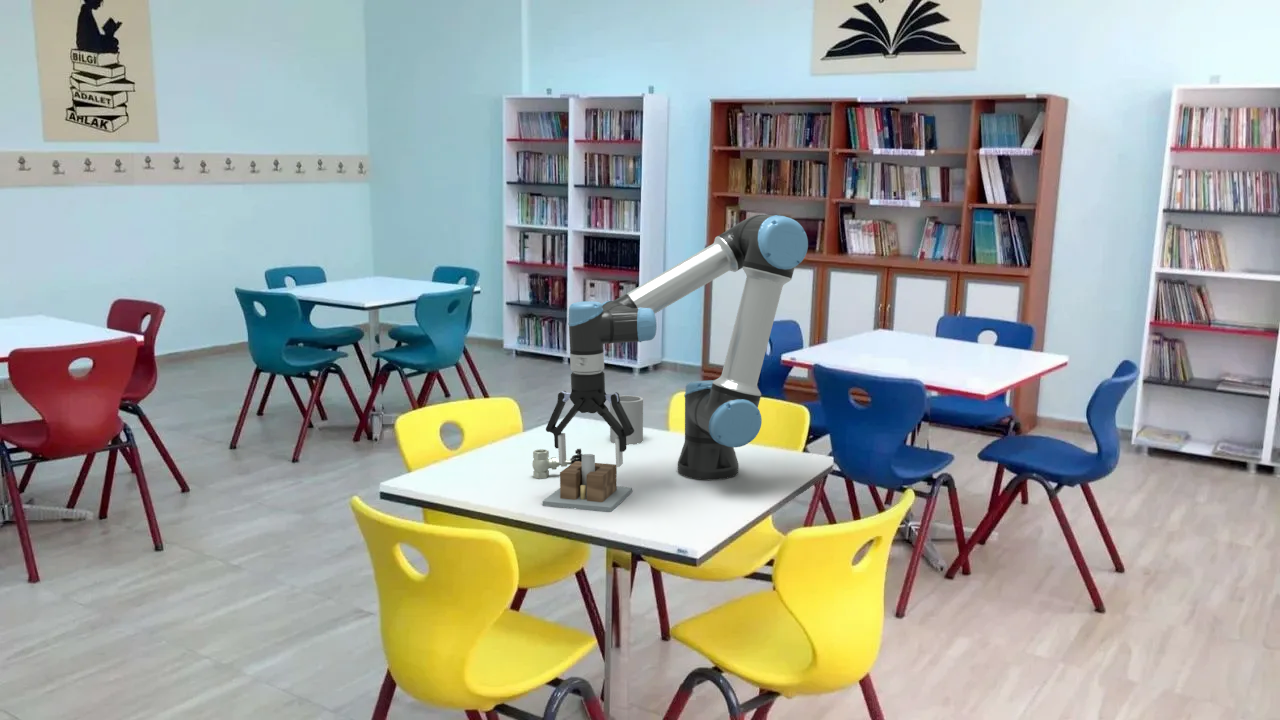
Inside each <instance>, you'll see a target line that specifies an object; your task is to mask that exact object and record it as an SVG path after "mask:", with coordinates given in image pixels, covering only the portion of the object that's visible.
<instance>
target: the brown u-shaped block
mask: <svg viewBox="0 0 1280 720" xmlns="http://www.w3.org/2000/svg"><path fill="white" fill-rule="evenodd" d="M617 468H618V467H616V463H615V464H612V463H603V462H601V463H600V462H595V472H589V473H588V474H587V501H594V502H604V501H605V500H606V499H607V498H608V497H609V496H610V495H611V494H613V493H614V492H615V491H616V490H617V486H618V485H617V483H618V482H617V475H618V474H617V472H618V471H617ZM580 485H582V462H578V461H575V462H574V463H572V464H571V465H569V466H568V465H567V466H566V467H565V468H564V469H563V470H561V471H560V472H559V488H560V498H561V499H572V500H576V499H577V498H579V497H580Z"/></svg>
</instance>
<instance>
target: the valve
mask: <svg viewBox="0 0 1280 720" xmlns="http://www.w3.org/2000/svg"><path fill="white" fill-rule="evenodd" d="M574 452H575V453H574V455H572V457H571V458H570V459H569V460H567V458H566V461H565V462H564V463H563V464H559V458H556V457H551V458H549V457H550V454H549V453H550V451H549V450H548V449H543V448H542V449H541V448H540V449H534V451H532V459H533V460H532V463H531V464H532V469H533V478H534V479H538V480H540V479H548V478H549V477H550V469H551V470H552V471H553V470H557V468H559V467H562V468H563V467H565V468H566V467H568V465H569V466H570V465H571V464H572V463H574V462H575V461H578V462H582V455H584V454H583V453H582V448H576V450H575V451H574Z"/></svg>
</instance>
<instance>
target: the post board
mask: <svg viewBox="0 0 1280 720" xmlns="http://www.w3.org/2000/svg"><path fill="white" fill-rule="evenodd" d="M595 463H596V456H595V454H591V453H585V454H583V455H582V485H580V497H579V498H577V499H576V500H572V499H561V498H560V487H559V488H558V489H557V490H555V491H554V492H553V493H551V494H550V495H548V496H547V497H546V498H545V499H543V500H542V503H541V504H542V505H543V507H545V506H546V507H553V506H555V507H554V508H563V507H565V508H564V509H574V508H576V509H575V510H584V511H597V512H608V513H612V511H614V510H615V509H616V508H617V507H618V506H619V505H620V504H621V503H622V502H623V501H624V500H625V499H626V498H627V497H629V496H630V495H631V494H632V493H633V489H634V488H633V487H631V486H622V485H621V486H619V485H617V490H616V491H615V492H614V493H613V494H611V495H610V496H609V497H608V498H607V499H606V500H605V501H604V502H594V501H587V474H588V473H589V472H595Z"/></svg>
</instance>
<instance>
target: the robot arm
mask: <svg viewBox="0 0 1280 720" xmlns="http://www.w3.org/2000/svg"><path fill="white" fill-rule="evenodd" d="M808 248H809V239H808V236H807V233H806V231H805V229H804V227H803V226H802V225H801V223H800V222H798V221H797V220H795V219H793V218H791V217H787V216H785V215H779V214H777V215H766V214H757V215H752V216H750V217H747V218H746V219H744V220H742V221H740V222H739V223H737V224H736V225H734V226H732V227H731V228H729V229H727V230H725V231H724V232H723V233H721V234H718V235H717V236H716V237H715V238H714V240H713V243H712V244H711V245H708V246H707V247H705V248H703V249H701V250H699V251H698V252H696V253H695V254H692V255H691V256H689V257H687V258H686V259H684V260H682V261H681V262H679V263H677V264H675V265H673V266H672V267H670V268H669V269H666V270H665V271H663V272H661V273H660V274H658V275H656V276H655V277H652V278H651V279H650V280H649V279H648V281H645V282H644V283H643V284H641V285H639V286H638V287H635V288H634V289H632V290H630V291H629V292H627V293H625V294H624V295H621V296H620V297H618V298H616V299H614V300H607V301H604V302H602V303H601V302H599V301H587V300H586V301H576V302H573V303H571V304H570V306H568V307H569V308H568V323H567V324H568V335H569V337H568V338H569V359H570V360H569V361H570V366H569V367H570V370H571V374H570V387H571V388H570V389H571V392H567V391H566V390H562V391H560V392H559V393H558V394H557V401H556V404H555V407H554V409H553V410H552V414H551V416H550V418H549V421H548V423H547V425H546V427H545V431H546V432H548V433H551V434H553V436H554V437H553V438H554V443H553V444H554V448H555V449H558V460H559V464H563V463H564V462H565V461H566V459H567V445H566V444H567V443H566V441H567V439H566V433H565V432H563V430H564V429H565V428H566V427H567V425H568V424H569V423H570V422H571V421H572V420H573V418H574V417H575V415H576V414H578V412H580V413H581V414H584V413H585V414H586V413H590V414H596V413H597V414H598V415H599V416H600V417H602V419H603V420H604V421H605V422H606V424H607V425H608V426H609V428H610V427H611V428H612V429H613V431H614V432H615V433H616V434H617V435H618V437H616V438H615V445H614V446H615V465H616V467H617V468H620V467H621V466H622V465H624V457H623V456H624V455H623V452H626V450H627V445H626V436H630V435H631V434H632V433H634V429H633V427H632V425H631V423H630V421H629V419H628V417H627V415H626V413H625V411H624V409H623V407H622V405H621V403H620V398H619V396H620V394H619V392H614V393H609V394H607V393H606V383H605V381H606V379H605V378H606V377H605V372H604V371H603V370H604V369H605V356H604V354H605V353H604V350H605V349H604V346H605V345H607V344H608V345H609V344H620V343H621V344H622V343H624V344H625V343H637V342H638V343H642V342H646V341H652V340H653V339H654V338H655V336H656V333H657V317H656V314H657V313H659V312H661V311H662V310H664V309H665V308H667V307H669V306H671V305H673V304H674V303H676V302H678V301H679V300H681V299H682V298H685V297H686V296H688V295H689V294H691V293H693V292H695V291H697V290H698V289H700V288H702V287H704V286H705V285H707V284H709V283H710V282H712V281H714V280H715V279H718V278H719V277H721V276H722V275H725V274H726V273H727V272H733V273H736V272H738V271H740V270H741V269H742V270H743V271H744V274H745V276H746V279H745V282H744V286H743V290H742V294H741V298H740V302H739V306H738V310H737V313H736V316H735V321H734V325H733V329H732V333H731V336H730V337H731V338H730V341H729V344H728V349H727V352H726V356H725V360H724V364H723V369H722V372H721V375H720V376H719V377H718V378H716V379H713V380H711V379H710V380H696V381H695V380H694V381H689V382H688V383H686V385H685V391H684V392H685V393H684V395H683V396H684V397H683V398H684V443H683V444H682V445H683V446H682V449H681V452H680V455H679V458H678V461H677V473H678V475H681V476H683V477H685V478H688V479H695V480H705V481H709V480H710V481H712V480H713V481H714V480H715V481H716V480H723V479H724V480H726V479H729V478H732V477H733V478H734V477H736V476H738V474H739V461H738V458H737V454H736V451H735V449H734V448H740V447H744V446H746V445H748V444H749V443H751V442H753V441H754V439H755V438H756V437H757V436H758V434H759V433H760V430H761V428H762V423H763V421H762V420H763V419H762V415H761V412H760V409H759V405H760V401H761V398H762V392H761V390H760V389H759V386H758V383H759V378H760V374H761V372H762V371H761V370H762V367H763V364H764V359H765V355H766V351H767V347H768V344H769V340H770V336H771V333H772V329H773V324H774V322H775V317H776V314H777V309H778V306H779V304H780V303H779V302H780V298H781V294H782V291H783V287H784V285H786V284H787V283H789V282H790V281H792V279H793V274H794V272H795V269H796V267H797V266H798V265H799V264H801V263H802V262H803V261H804V259H805V257H806V255H807V253H808ZM569 399H570V401H571V402H572V403H573V405H572V406H571V408H570V410H569V411H568V412H567V414H566V415H565V416H564V418H562V420H561V421H560V422H559V424H558V425H557V423H558V421H559V419H560V416H561V414H562V412H563V410H564V408H565V405H566V403H567V402H568V401H569ZM606 401H607V402H608V403H609V405H610V404H612V407H613V409H614V411H615V413H616V415H617V417H618V419H619V421H620V423H621V425H622V426H621V425H620V424H619V422H618V421H617V420H616V419H615V418H614V416H613V415H612V414H611V413H610V409H609V408H608V406H606Z"/></svg>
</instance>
